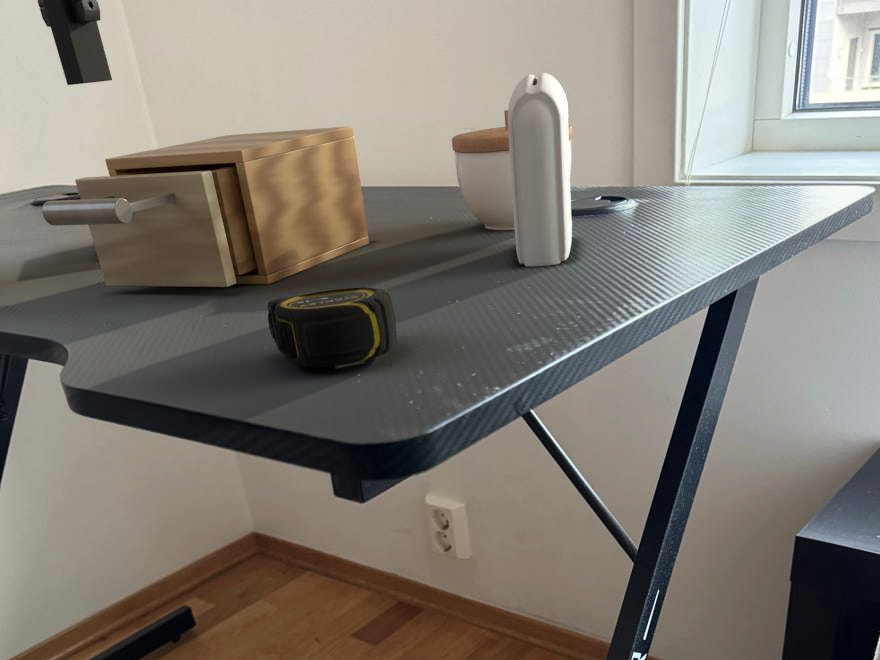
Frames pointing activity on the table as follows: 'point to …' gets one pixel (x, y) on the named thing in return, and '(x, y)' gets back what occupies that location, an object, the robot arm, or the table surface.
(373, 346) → the tape measure
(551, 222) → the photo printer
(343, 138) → the cabinet
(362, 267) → the table surface
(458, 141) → the white lidded jar
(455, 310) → the table surface
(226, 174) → the drawer
